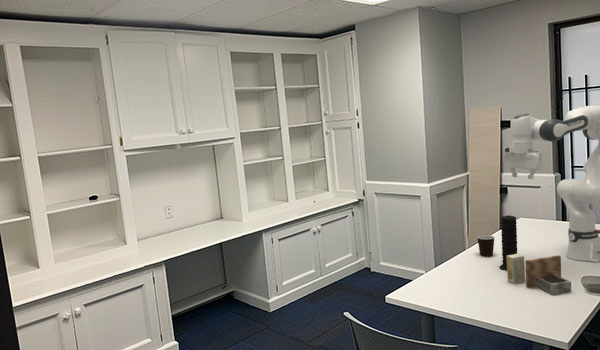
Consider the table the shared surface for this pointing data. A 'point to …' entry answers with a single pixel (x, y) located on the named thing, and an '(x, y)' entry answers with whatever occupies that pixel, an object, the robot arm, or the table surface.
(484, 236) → the coffee mug
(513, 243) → the handle grip
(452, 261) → the table surface
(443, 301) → the table surface
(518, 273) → the skincare box
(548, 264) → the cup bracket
